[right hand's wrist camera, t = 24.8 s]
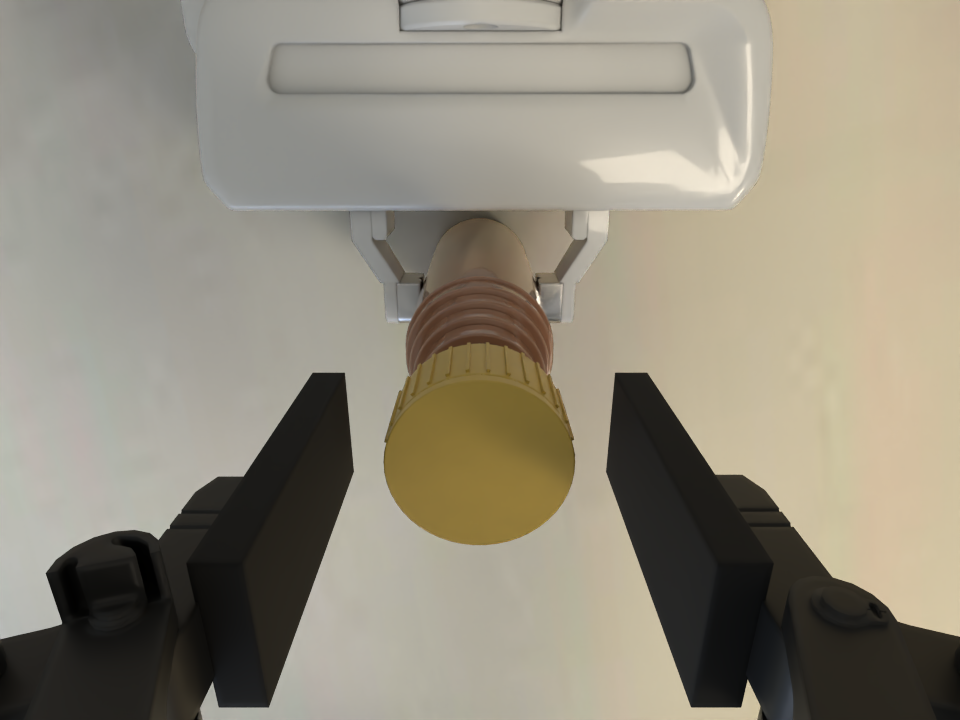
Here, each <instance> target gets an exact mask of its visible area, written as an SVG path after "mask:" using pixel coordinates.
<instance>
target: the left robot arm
mask: <svg viewBox="0 0 960 720" xmlns="http://www.w3.org/2000/svg"><path fill="white" fill-rule="evenodd" d="M180 1H181V7H182V13H183V20H184V26H185V31H186V35H187V38H188V40H189V43H190V45H191V47H192V49H193V51H194V53H195V54H196V67H195V68H196V113H197V129H198V142H199V151H200V161H201V168H202V174H203V178H204V181H205V183H206V185H207V186H208V188H209V189H210V190H211V191H212V192H213V193H214V194H215V195H216V197H217V198H218V199H219V200H220V201H221V202H222V203H223V204H224V205H225V206H226V207H227V208H228V209H230V210H234V211H349V212H350V225H351V237H352V242H353V243H354V245H355V246H356V248H357V249H358V251H359V252H360V254H361V255H362V256H363V258H364V259H365V261H366V262H367V264H368V265H369V267H370V268H371V270H372V271H373V273H374V274H375V276H376V277H377V279H378V280H379V282H380V283H384V298H385V314H386V320H387V323H410V321H411V318H412V315H413V312H414V309H415V306H416V304H417V301H418V298H419V295H420V292H421V289H422V286H423V284H424V273H405V271H404V270H403V268H402V266H401V265H400V263H399V261H398V260H397V258H396V256H395V255H394V253H393V251H392V250H391V248H390V246H389V245H388V243H387V242H386V240H385V239H386V238H387V237H388V236H389V235H390V233H391V232H392V231H393V230H394V229H395V225H394V211H565V229H566V230H567V232H568V233H569V234H570V236H571V237H572V238H573V239H574V240H573V242H572V243H571V245H570V247H569V248H568V250H567V252H566V253H565V255H564V257H563V258H562V260H561V261H560V263H559V265H558V266H557V268H556V270H555V271H554V272H555V273H535V282H536V285H537V288H538V291H539V294H540V297H541V300H542V303H543V306H544V308H545V311H546V314H547V317H548V320H549V323H572V322H573V317H574V304H575V287H576V283H579V282H580V280H581V279H582V277H583V276H584V274H585V273H586V272H587V270H588V269H589V267H590V266H591V264H592V263H593V261H594V260H595V258H596V257H597V255H598V254H599V252H600V251H601V249H602V248H603V246H604V245H605V244H606V242H607V238H608V226H609V215H610V211H650V210H730V209H733V208H734V207H736V206H737V205H738V204H739V203H740V202H741V201H742V200H743V198H744V197H745V196H746V195H747V194H748V193H749V192H750V190H751V189H752V188H753V187H754V186H755V185H756V183H757V181H758V179H759V176H760V173H761V169H762V164H763V159H764V153H765V146H766V139H767V131H768V123H769V113H770V102H771V88H772V67H773V32H772V24H771V18H770V14H769V11H768V8H767V5H766V3H765V1H764V0H180Z"/></svg>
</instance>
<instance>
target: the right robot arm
mask: <svg viewBox="0 0 960 720" xmlns="http://www.w3.org/2000/svg"><path fill="white" fill-rule="evenodd" d="M353 473H354V469H353V458H352V447H351V436H350V425H349V414H348V403H347V392H346V381H345V373H312V375H311V376H310V378H309V379H308V381H307V382H306V384H305V385H304V387H303V388H302V390H301V391H300V393H299V394H298V396H297V397H296V399H295V400H294V402H293V403H292V405H291V406H290V408H289V409H288V411H287V412H286V414H285V415H284V417H283V418H282V420H281V421H280V423H279V424H278V426H277V427H276V429H275V430H274V432H273V433H272V435H271V436H270V438H269V439H268V441H267V442H266V444H265V445H264V447H263V448H262V450H261V451H260V453H259V454H258V456H257V457H256V459H255V460H254V462H253V463H252V465H251V466H250V468H249V469H248V471H247V472H246V474H245V475H244V477H217V478H215V479H214V480H213V481H211V482H210V483H208V484H207V485H205V486H204V487H202V488H201V489H199V490H198V491H196V492H195V493H194V495H193V496H192V497H191V499H190V500H189V501H188V502H187V504H186V505H185V506H184V508H183V509H182V512H181V514H178V516H177V517H176V518H175V519H174V521H173V522H172V523H171V525H170V529H167V530H166V531H165V532H164V534H163V535H162V536H161V538H160V539H159V540H158V539H156V538H155V537H154V536H153V535H151V534H150V533H147V532H142V531H137V530H129V531H117V532H112V533H108V534H105V535H101V536H98V537H94V538H92V539H90V540H88V541H85V542H83V543H81V544H79V545H77V546H75V547H73V548H72V549H70V550H69V551H68V552H66V553H65V554H63V555H62V556H61V557H59V558H58V559H57V560H56V561H55V562H54V563H53V565H52V566H51V567H50V569H49V570H48V571H47V572H46V576H47V579H48V581H49V584H50V587H51V590H52V593H53V596H54V599H55V602H56V605H57V608H58V611H59V614H60V617H61V620H62V625H59V626H55V627H52V628H48V629H43V630H39V631H35V632H30V633H26V634H22V635H17V636H13V637H9V638H4V639H0V720H202V715H201V711H200V707H201V705H202V702H203V700H204V698H205V696H206V694H207V692H208V690H209V688H210V686H211V684H212V682H213V684H214V688H215V693H216V697H217V701H218V706H219V707H269V705H270V703H271V700H272V697H273V694H274V692H275V689H276V686H277V683H278V680H279V678H280V675H281V672H282V669H283V667H284V664H285V661H286V658H287V655H288V653H289V650H290V647H291V644H292V642H293V639H294V636H295V633H296V631H297V628H298V625H299V622H300V619H301V617H302V614H303V611H304V608H305V606H306V603H307V600H308V597H309V594H310V592H311V589H312V586H313V583H314V581H315V578H316V575H317V572H318V570H319V567H320V564H321V561H322V558H323V556H324V553H325V550H326V547H327V545H328V542H329V539H330V536H331V534H332V531H333V528H334V525H335V522H336V520H337V517H338V514H339V511H340V509H341V506H342V503H343V500H344V497H345V495H346V492H347V489H348V486H349V484H350V481H351V478H352V475H353ZM606 473H607V475H608V478H609V481H610V484H611V486H612V489H613V492H614V495H615V497H616V500H617V503H618V506H619V509H620V511H621V514H622V517H623V520H624V522H625V525H626V528H627V531H628V534H629V536H630V539H631V542H632V545H633V547H634V550H635V553H636V556H637V558H638V561H639V564H640V567H641V570H642V572H643V575H644V578H645V581H646V583H647V586H648V589H649V592H650V594H651V597H652V600H653V603H654V606H655V608H656V611H657V614H658V617H659V619H660V622H661V625H662V628H663V631H664V633H665V636H666V639H667V642H668V644H669V647H670V650H671V653H672V655H673V658H674V661H675V664H676V667H677V669H678V672H679V675H680V678H681V680H682V683H683V686H684V689H685V692H686V694H687V697H688V700H689V703H690V705H691V707H741V706H742V701H743V697H744V693H745V688H746V684H747V680H748V681H749V683H750V685H751V687H752V689H753V691H754V693H755V695H756V697H757V699H758V701H759V704H760V706H761V707H760V711H759V715H758V719H757V720H960V637H958V636H954V635H949V634H945V633H941V632H936V631H932V630H928V629H923V628H919V627H915V626H910V625H907V624H903V623H900V622H897V620H896V619H895V617H894V616H893V614H892V613H891V611H890V610H889V608H888V607H887V606H886V605H884V604H883V603H882V602H881V601H880V600H878V599H877V598H876V597H875V596H874V595H872V594H871V593H869V592H867V591H865V590H863V589H861V588H859V587H858V586H856V585H854V584H852V583H848V582H845V581H842V580H839V579H836V578H832V576H831V575H830V574H829V572H828V571H827V570H826V569H825V567H824V566H823V565H822V563H821V562H820V561H819V559H818V558H817V557H816V556H815V554H814V553H813V552H812V550H811V549H810V548H809V547H808V545H807V544H806V543H805V541H804V540H803V539H802V538H801V536H800V535H799V534H798V532H797V531H796V530H795V528H794V527H791V525H790V522H789V521H788V519H787V518H786V517H785V516H784V514H783V513H782V512H779V508H778V506H777V505H776V504H775V503H774V501H773V500H772V499H771V497H770V496H769V495H768V494H767V492H766V491H765V490H764V489H762V488H761V487H759V486H758V485H756V484H755V483H754V482H752V481H751V480H749V479H748V478H746V477H745V476H743V475H715V474H714V472H713V471H712V469H711V468H710V466H709V465H708V463H707V462H706V460H705V459H704V457H703V456H702V454H701V453H700V451H699V450H698V448H697V447H696V445H695V444H694V442H693V441H692V439H691V438H690V436H689V435H688V433H687V432H686V430H685V429H684V427H683V426H682V424H681V423H680V421H679V420H678V418H677V417H676V415H675V414H674V412H673V411H672V409H671V408H670V406H669V405H668V403H667V402H666V400H665V399H664V397H663V396H662V394H661V393H660V391H659V390H658V388H657V387H656V385H655V384H654V382H653V381H652V379H651V378H650V376H649V375H648V373H615V381H614V392H613V403H612V414H611V425H610V436H609V447H608V458H607V468H606Z"/></svg>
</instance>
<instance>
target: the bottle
mask: <svg viewBox="0 0 960 720" xmlns="http://www.w3.org/2000/svg"><path fill="white" fill-rule="evenodd" d="M486 342H489V344H491V345H497V346H501V347H504V345H505V346H508V348H509V349H512V350H514V351H516V352H519V353H520V354H521V352H523V353H525V356H526V357H528V358H529V359H530V360H532V361H533V362H535V363H536V362H538V363H539V365H540V368H541V369H542V370H543V371H544V372H545V373H546V374H547V375H549V374H550V373H551V369H552V363H553V334H552V330H551V326H550V323H549V320H548V317H547V314H546V311H545V308H544V306H543V303H542V300H541V297H540V294H539V291H538V288H537V285H536V282H535V279H534V277H533V274H532V271H531V268H530V265H529V262H528V259H527V256H526V253H525V251H524V248H523V246H522V243H521V242H520V240H519V238H518V237H517V236H516V234H515V233H514V232H513V231H512V230H511V229H509V228H508V227H507V226H505V225H503V224H502V223H500V222H497V221H495V220H491V219H486V218H474V219H468V220H465V221H462V222H460V223H458V224H456V225H454V226H453V227H451V228H450V229H449V230H448V231H447V232H446V233H445V234H444V235H443V236H442V238H441V239H440V241H439V243H438V244H437V247H436V249H435V252H434V255H433V258H432V261H431V263H430V266H429V269H428V272H427V275H426V278H425V281H424V284H423V286H422V289H421V292H420V295H419V298H418V301H417V304H416V306H415V309H414V312H413V315H412V318H411V321H410V324H409V326H408V331H407V335H406V363H407V368H408V372H409V375H410V377H411V375H412V374H413V373H414V372H415V371H416V370H417V366H418V365H419V364H421V365H422V364H423V363H424V362H426V361H427V360H428V359H430V358H431V357H432V354H434V353H435V354H436V355H437V354H438V353H440V352H442V351H445V350H448V349H449V347H451V346H452V347H457V346H461V345H467V343H471V344H479V343H480V344H486Z"/></svg>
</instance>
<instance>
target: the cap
mask: <svg viewBox="0 0 960 720" xmlns="http://www.w3.org/2000/svg"><path fill="white" fill-rule="evenodd" d="M572 440H574V437H573V434H572V431H571V427H570V424H569V420H568V417H567V414H566V410H565V407H564V404H563V401H562V398H561V394H560V391H559V389H556V388H555V386H554V385H553V382H552V378H551V376H550V374H549V375H547V374H546V373H545V372H544V371H543V370H542V369H541V368H540V365H539V363H538V362H536V363H535V362H533V361H532V360H530V359H529V358H528V357H526V356H525V353H523V352H521V354H520V353H519V352H516V351H514V350H512V349H509V348H508V346H505V345H504V347H501V346H497V345H491V344H489V342H486V344H480V343H479V344H471V343H467V345H461V346H457V347H452V346H451V347H449V349H448V350H445V351H442V352H440V353H438V354H437V355H436V354H435V353H434V354H432V357H431V358H430V359H428V360H427V361H426V362H424V363H423V364H422V365H421V364H419V365H418V366H417V370H416V371H415V372H414V373H413V374H412V375H411V377H409V376H408V377H407V378H406V382H405V385H404V388H403V390H402V391H399V393H398V396H397V400H396V403H395V406H394V410H393V413H392V416H391V420H390V423H389V427H388V431H387V434H386V437H385V443H386V447H385V451H384V473H385V477H386V482H387V485H388V488H389V490H390V493H391V495H392V496H393V498H394V500H395V502H396V504H397V505H398V506H399V507H400V509H401V510H402V511H403V513H404V514H405V515H406V516H407V517H408V518H409V519H410V520H411V521H413V522H414V523H415V524H416V525H418V526H419V527H421V528H422V529H424V530H425V531H427V532H429V533H431V534H433V535H435V536H437V537H439V538H442V539H445V540H448V541H452V542H456V543H461V544H469V545H490V544H498V543H503V542H507V541H511V540H514V539H517V538H520V537H522V536H524V535H526V534H528V533H530V532H532V531H533V530H535V529H537V528H538V527H540V526H541V525H542V524H544V523H545V522H546V521H547V520H549V518H550V517H551V516H552V515H553V514H554V513H555V512H556V511H557V510H558V508H559V507H560V506H561V504H562V503H563V501H564V500H565V498H566V496H567V494H568V492H569V489H570V487H571V484H572V481H573V476H574V470H575V453H574V448H573V444H572Z"/></svg>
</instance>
